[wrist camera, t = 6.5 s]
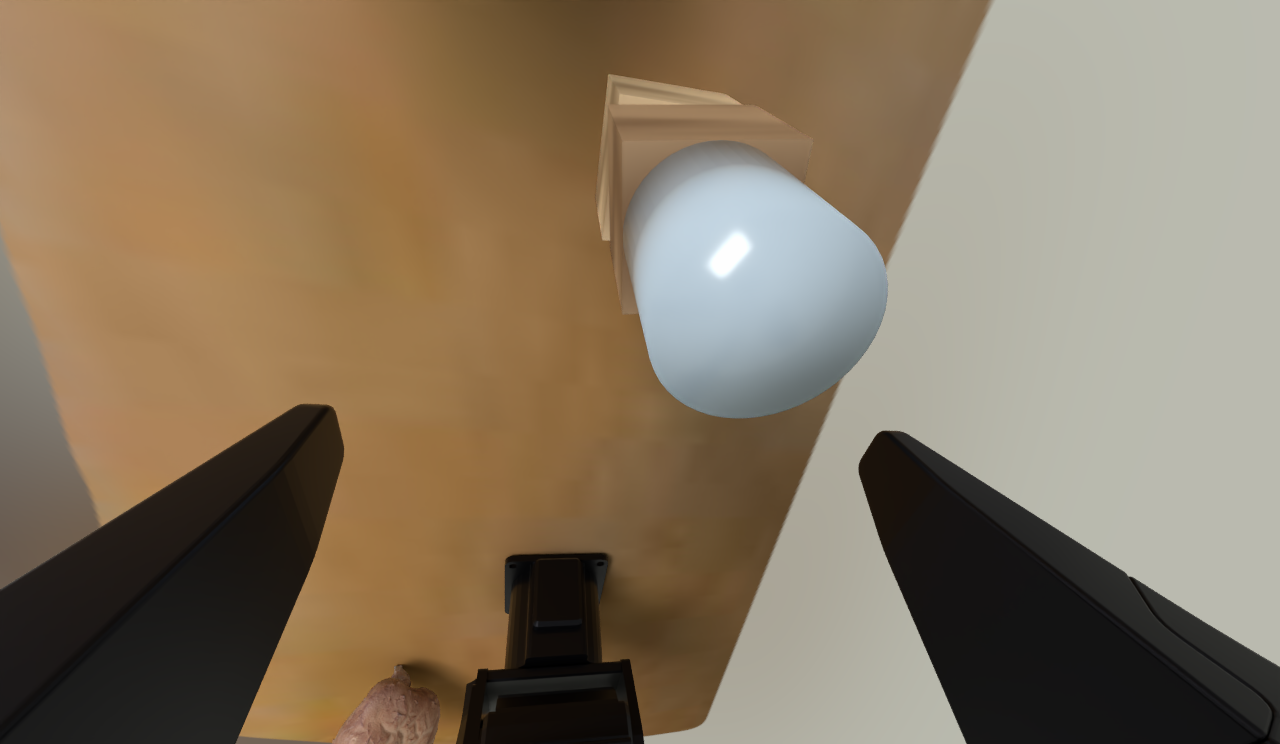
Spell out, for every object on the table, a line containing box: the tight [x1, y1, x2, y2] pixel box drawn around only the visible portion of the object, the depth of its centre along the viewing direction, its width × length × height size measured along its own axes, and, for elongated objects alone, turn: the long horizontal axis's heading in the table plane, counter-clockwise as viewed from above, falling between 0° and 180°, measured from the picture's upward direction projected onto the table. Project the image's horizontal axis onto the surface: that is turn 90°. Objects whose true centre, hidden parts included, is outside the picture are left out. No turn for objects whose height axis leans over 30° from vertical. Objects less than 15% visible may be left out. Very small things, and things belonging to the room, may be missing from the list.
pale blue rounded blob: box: [623, 140, 888, 418], centre depth 10 cm, size 4×4×4 cm
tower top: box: [608, 104, 814, 314], centre depth 13 cm, size 4×4×4 cm
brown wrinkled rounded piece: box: [332, 665, 440, 744], centre depth 35 cm, size 8×6×8 cm
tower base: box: [595, 74, 742, 241], centre depth 16 cm, size 4×4×4 cm
